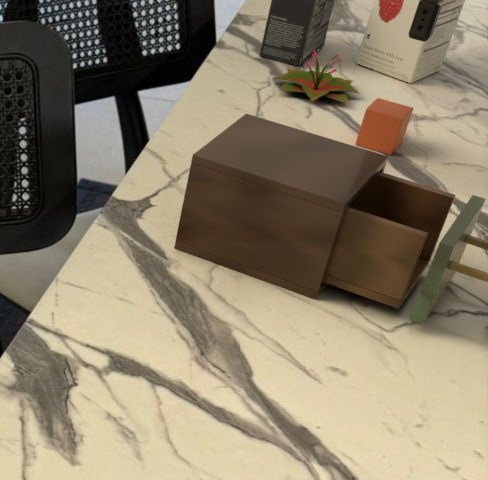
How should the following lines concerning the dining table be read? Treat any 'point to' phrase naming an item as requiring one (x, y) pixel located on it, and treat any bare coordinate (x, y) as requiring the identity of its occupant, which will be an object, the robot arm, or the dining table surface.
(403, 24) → the rectangular carton
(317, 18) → the small box
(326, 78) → the lily flower
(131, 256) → the dining table surface
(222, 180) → the cabinet
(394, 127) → the block
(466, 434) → the dining table surface
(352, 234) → the drawer
